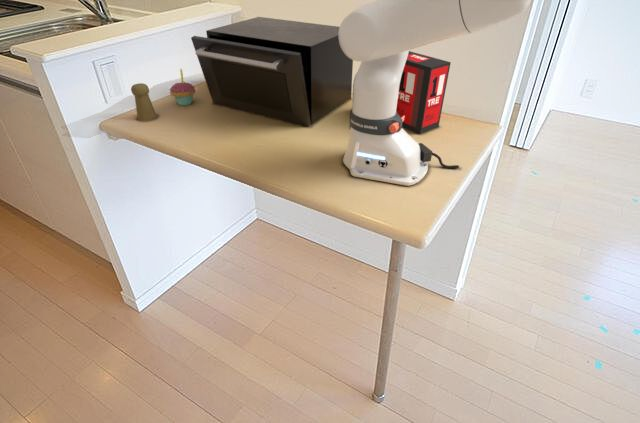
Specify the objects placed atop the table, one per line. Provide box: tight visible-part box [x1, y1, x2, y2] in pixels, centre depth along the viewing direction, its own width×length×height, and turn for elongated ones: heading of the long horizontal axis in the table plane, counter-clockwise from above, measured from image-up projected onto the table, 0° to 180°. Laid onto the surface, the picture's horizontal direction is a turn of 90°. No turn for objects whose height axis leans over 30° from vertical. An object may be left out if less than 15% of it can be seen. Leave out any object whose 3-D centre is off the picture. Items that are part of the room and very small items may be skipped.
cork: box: [130, 82, 158, 122], centre depth 130 cm, size 6×6×11 cm
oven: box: [205, 16, 354, 126], centre depth 140 cm, size 28×40×24 cm
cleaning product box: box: [396, 50, 452, 135], centre depth 125 cm, size 16×9×20 cm, turn 39°
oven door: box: [190, 35, 312, 128], centre depth 126 cm, size 6×40×24 cm, turn 59°
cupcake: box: [169, 69, 196, 106], centre depth 140 cm, size 9×8×12 cm
